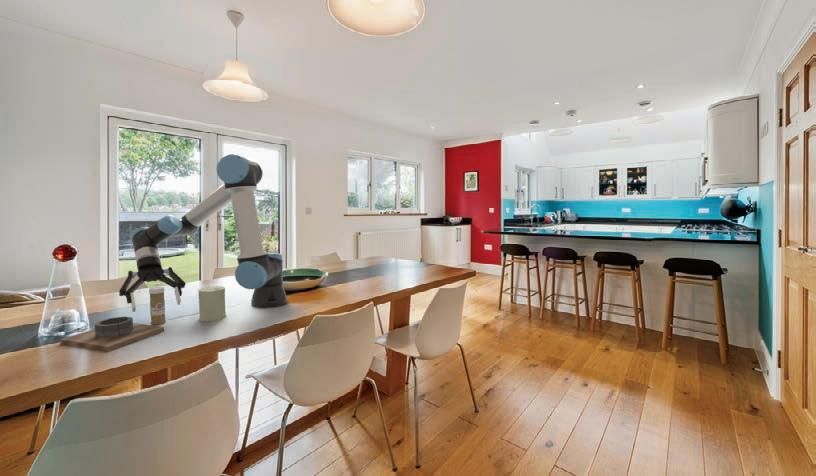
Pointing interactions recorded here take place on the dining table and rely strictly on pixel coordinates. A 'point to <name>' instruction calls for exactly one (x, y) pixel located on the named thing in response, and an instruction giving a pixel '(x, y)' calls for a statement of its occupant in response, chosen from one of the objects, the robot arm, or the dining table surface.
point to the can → (212, 303)
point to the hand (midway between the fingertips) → (157, 306)
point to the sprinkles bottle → (157, 305)
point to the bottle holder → (112, 334)
